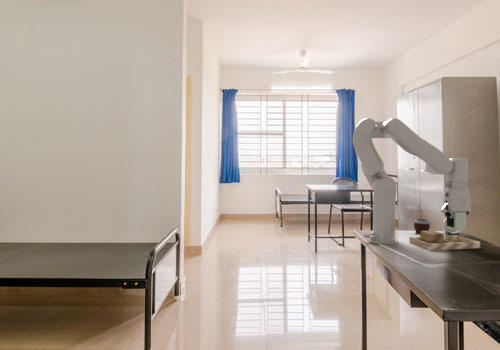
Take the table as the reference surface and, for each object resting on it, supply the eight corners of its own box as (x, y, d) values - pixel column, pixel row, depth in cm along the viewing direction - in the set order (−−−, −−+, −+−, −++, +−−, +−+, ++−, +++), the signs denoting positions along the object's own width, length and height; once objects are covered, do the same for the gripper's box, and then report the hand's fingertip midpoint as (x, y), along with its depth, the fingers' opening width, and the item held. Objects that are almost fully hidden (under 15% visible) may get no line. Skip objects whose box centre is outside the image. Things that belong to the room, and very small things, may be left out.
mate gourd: (424, 237, 141) (425, 208, 141) (409, 234, 148) (409, 206, 148) (432, 235, 145) (433, 207, 144) (417, 232, 152) (418, 205, 151)
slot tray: (428, 252, 116) (429, 244, 116) (409, 244, 128) (409, 237, 128) (480, 250, 120) (480, 242, 120) (456, 242, 131) (456, 235, 131)
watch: (463, 241, 134) (464, 218, 133) (443, 239, 137) (444, 217, 137) (460, 238, 139) (461, 216, 138) (441, 236, 142) (442, 215, 142)
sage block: (455, 230, 121) (456, 212, 121) (446, 228, 126) (446, 210, 126) (465, 230, 122) (466, 212, 122) (456, 227, 127) (456, 210, 127)
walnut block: (430, 247, 119) (431, 234, 119) (420, 244, 125) (420, 230, 125) (443, 247, 120) (443, 233, 120) (432, 243, 126) (432, 230, 126)
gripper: (446, 186, 119) (445, 228, 119) (481, 186, 121) (480, 227, 122) (432, 185, 126) (432, 225, 127) (466, 184, 128) (465, 224, 129)
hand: (455, 225), depth 124 cm, fingers closed on sage block, 5 cm apart
